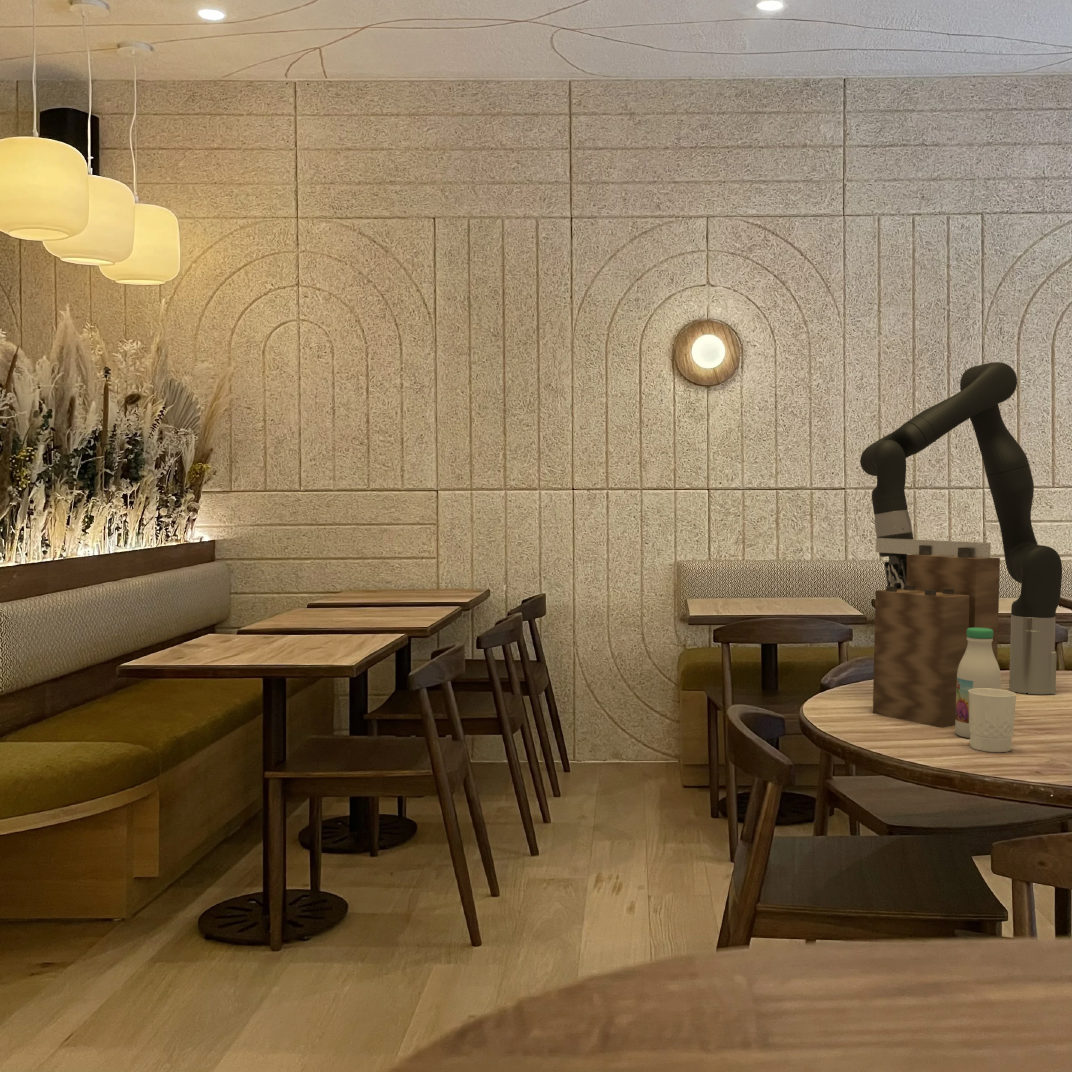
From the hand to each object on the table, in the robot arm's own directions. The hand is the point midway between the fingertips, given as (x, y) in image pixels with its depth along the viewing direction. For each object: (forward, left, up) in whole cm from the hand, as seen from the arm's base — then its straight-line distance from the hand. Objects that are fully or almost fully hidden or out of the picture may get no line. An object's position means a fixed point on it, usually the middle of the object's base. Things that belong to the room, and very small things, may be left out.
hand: (906, 607), depth 246 cm
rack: (-5, +15, -20) cm, 26 cm away
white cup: (-12, +43, -20) cm, 49 cm away
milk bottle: (-11, +33, -20) cm, 40 cm away
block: (-4, +9, +12) cm, 15 cm away
